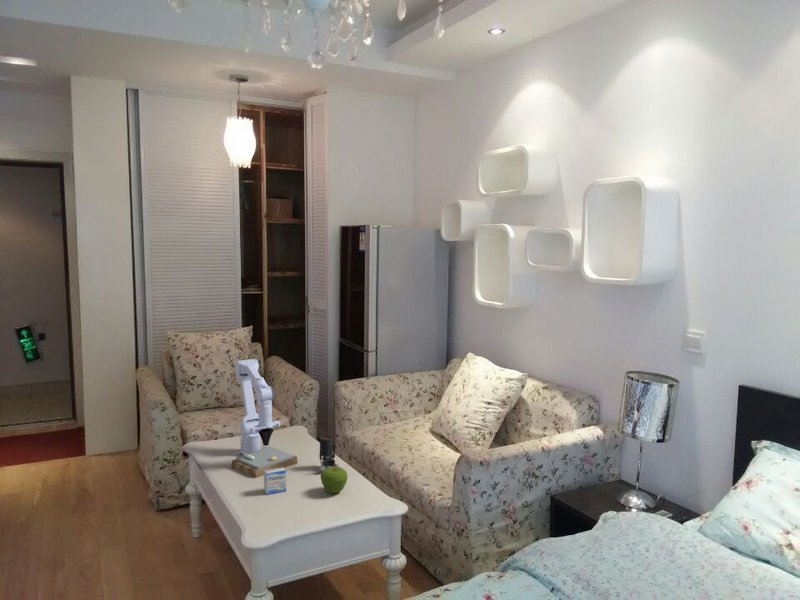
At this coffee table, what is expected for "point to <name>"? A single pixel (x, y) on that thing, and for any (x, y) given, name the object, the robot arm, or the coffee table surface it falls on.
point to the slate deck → (264, 457)
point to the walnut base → (260, 472)
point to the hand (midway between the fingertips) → (265, 445)
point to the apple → (334, 479)
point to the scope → (326, 453)
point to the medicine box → (274, 480)
